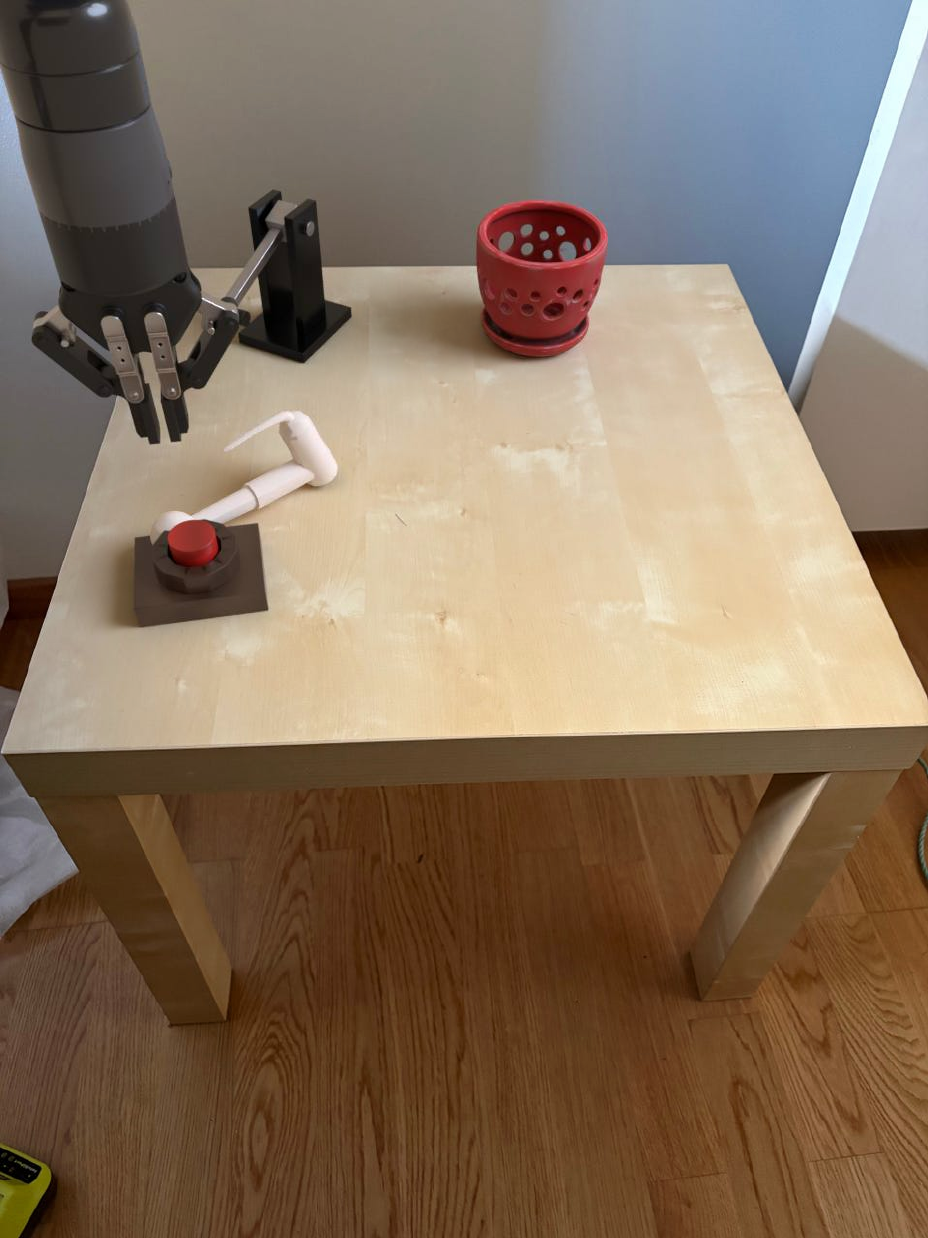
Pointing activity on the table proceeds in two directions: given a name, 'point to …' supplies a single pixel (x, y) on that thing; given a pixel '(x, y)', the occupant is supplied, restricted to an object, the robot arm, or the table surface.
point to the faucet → (305, 467)
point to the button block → (200, 578)
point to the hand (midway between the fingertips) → (166, 435)
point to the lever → (261, 256)
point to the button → (193, 543)
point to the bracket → (292, 286)
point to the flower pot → (539, 276)
